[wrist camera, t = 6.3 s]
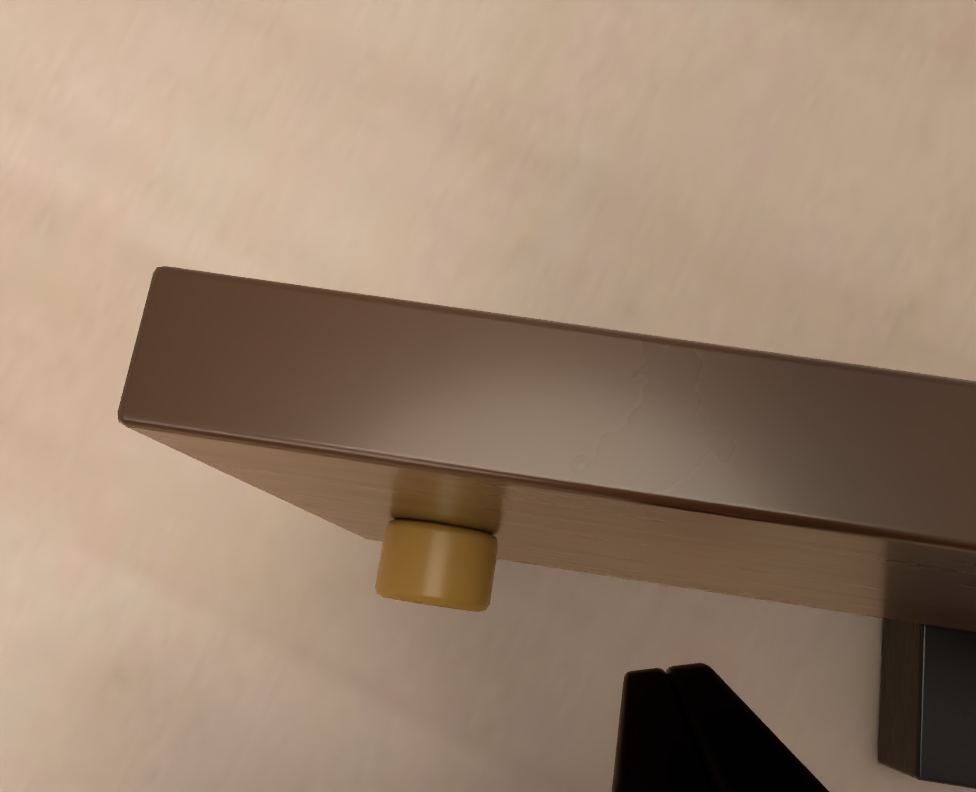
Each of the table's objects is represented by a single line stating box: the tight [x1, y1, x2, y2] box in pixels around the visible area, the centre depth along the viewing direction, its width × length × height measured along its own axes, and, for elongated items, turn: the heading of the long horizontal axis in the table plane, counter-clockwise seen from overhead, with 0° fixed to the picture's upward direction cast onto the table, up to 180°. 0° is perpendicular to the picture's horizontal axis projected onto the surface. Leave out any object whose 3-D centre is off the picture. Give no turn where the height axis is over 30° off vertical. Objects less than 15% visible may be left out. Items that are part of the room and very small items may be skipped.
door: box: [118, 266, 976, 632], centre depth 10 cm, size 12×2×10 cm, turn 81°
